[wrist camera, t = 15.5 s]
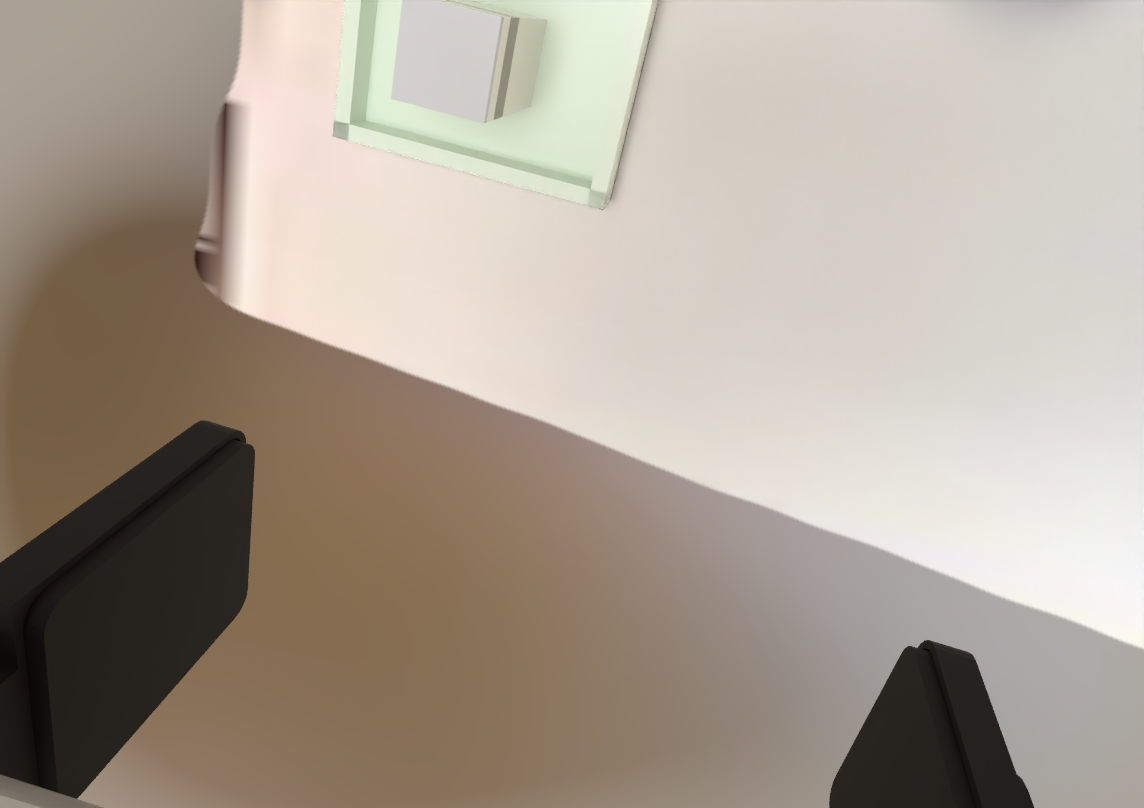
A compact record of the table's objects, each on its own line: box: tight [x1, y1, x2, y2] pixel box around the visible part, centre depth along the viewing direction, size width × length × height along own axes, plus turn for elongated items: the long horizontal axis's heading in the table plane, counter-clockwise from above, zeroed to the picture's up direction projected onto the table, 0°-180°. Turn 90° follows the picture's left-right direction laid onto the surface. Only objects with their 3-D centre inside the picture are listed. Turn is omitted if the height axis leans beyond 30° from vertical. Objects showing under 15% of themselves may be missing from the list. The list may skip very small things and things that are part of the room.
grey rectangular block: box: [391, 0, 547, 123], centre depth 36 cm, size 4×4×8 cm
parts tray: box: [333, 0, 659, 210], centre depth 39 cm, size 14×11×2 cm
